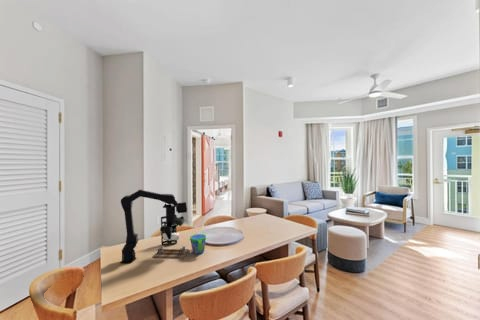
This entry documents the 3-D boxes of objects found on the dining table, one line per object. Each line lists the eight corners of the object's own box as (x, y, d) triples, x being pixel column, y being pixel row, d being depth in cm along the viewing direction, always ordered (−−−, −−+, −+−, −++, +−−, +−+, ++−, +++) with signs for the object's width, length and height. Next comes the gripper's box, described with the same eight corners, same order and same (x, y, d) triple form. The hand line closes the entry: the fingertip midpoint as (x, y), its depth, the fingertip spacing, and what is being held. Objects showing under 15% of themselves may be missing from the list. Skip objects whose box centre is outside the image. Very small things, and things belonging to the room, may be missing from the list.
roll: (162, 241, 137) (162, 234, 137) (165, 238, 142) (165, 232, 142) (177, 241, 137) (177, 234, 137) (179, 238, 141) (179, 232, 141)
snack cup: (190, 248, 148) (189, 233, 148) (205, 246, 150) (205, 232, 150) (190, 258, 133) (190, 241, 133) (207, 255, 135) (207, 239, 135)
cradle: (152, 257, 134) (152, 251, 134) (160, 250, 145) (160, 244, 145) (183, 258, 133) (183, 251, 133) (189, 250, 144) (189, 244, 144)
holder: (161, 246, 151) (160, 217, 153) (160, 243, 158) (160, 216, 160) (177, 244, 155) (176, 216, 158) (176, 241, 162) (176, 214, 164)
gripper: (177, 217, 129) (178, 243, 129) (187, 210, 148) (187, 233, 148) (159, 217, 130) (160, 243, 130) (171, 210, 149) (172, 233, 149)
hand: (171, 238), depth 139 cm, fingers closed on roll, 4 cm apart
